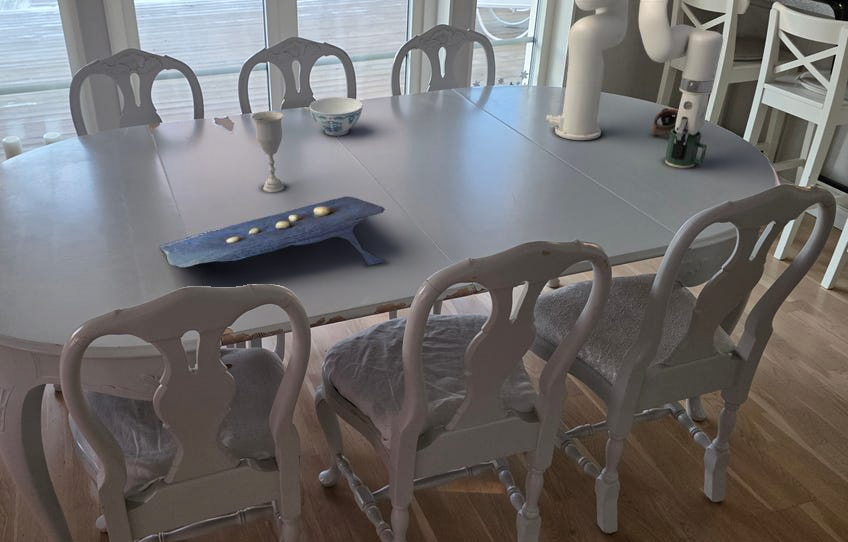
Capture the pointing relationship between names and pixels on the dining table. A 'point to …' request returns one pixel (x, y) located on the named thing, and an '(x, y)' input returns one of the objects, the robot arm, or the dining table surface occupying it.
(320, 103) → the chinaware
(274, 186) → the chalice
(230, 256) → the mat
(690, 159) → the green mug
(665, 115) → the broken pottery
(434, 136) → the dining table surface
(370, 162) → the dining table surface
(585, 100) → the robot arm
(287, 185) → the dining table surface
